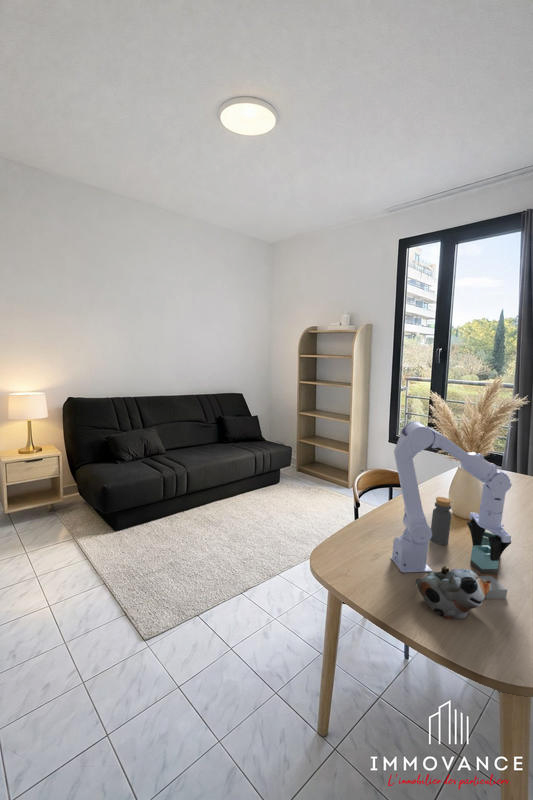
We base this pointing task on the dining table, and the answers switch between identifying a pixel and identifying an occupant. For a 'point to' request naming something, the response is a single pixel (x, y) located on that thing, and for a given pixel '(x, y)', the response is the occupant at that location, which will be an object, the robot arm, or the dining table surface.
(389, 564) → the dining table surface
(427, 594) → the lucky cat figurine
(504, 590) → the block
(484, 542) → the peg board
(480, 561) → the sleeve
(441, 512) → the bottle
